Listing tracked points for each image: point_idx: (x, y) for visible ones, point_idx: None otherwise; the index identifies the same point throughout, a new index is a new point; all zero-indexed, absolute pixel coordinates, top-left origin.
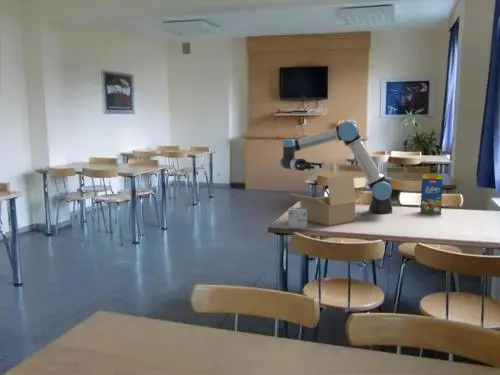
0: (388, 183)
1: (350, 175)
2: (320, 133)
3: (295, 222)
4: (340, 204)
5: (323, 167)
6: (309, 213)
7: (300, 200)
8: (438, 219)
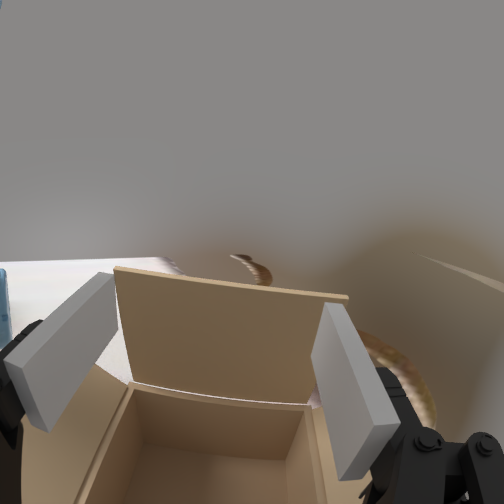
0: None
1: (138, 270)
2: None
3: None
4: (233, 401)
5: (65, 390)
6: None
7: None
8: (17, 303)
